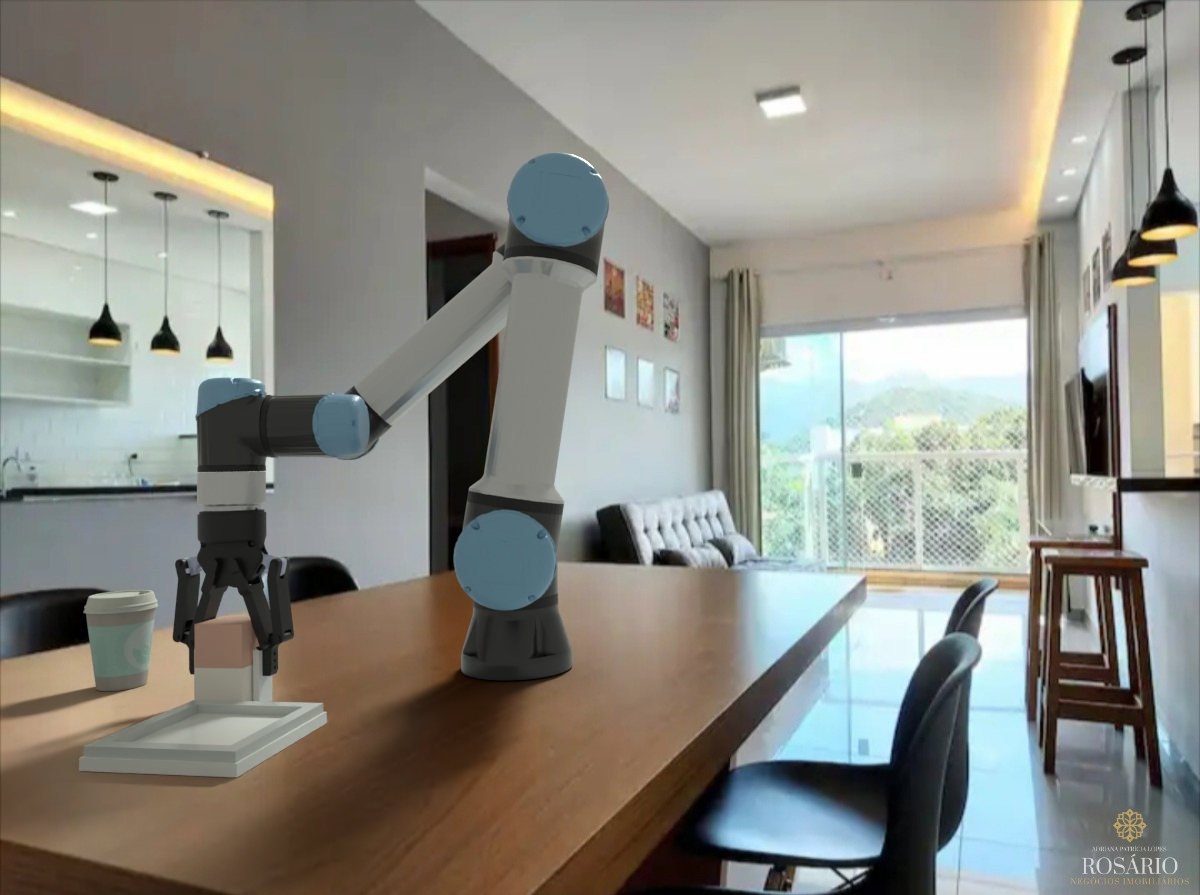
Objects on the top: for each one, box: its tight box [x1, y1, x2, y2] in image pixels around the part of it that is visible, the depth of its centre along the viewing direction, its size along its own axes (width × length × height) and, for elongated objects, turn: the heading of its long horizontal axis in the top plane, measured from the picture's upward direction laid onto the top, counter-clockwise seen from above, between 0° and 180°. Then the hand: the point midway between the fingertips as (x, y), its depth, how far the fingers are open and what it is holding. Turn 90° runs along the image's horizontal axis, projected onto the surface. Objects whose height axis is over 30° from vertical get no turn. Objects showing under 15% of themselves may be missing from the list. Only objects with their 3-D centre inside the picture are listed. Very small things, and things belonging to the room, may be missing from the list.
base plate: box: [78, 699, 328, 778], centre depth 82 cm, size 16×16×2 cm
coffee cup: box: [82, 589, 159, 692], centre depth 108 cm, size 8×8×12 cm
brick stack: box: [195, 614, 259, 701], centre depth 97 cm, size 6×6×10 cm
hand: (233, 702), depth 97 cm, fingers open, 7 cm apart
